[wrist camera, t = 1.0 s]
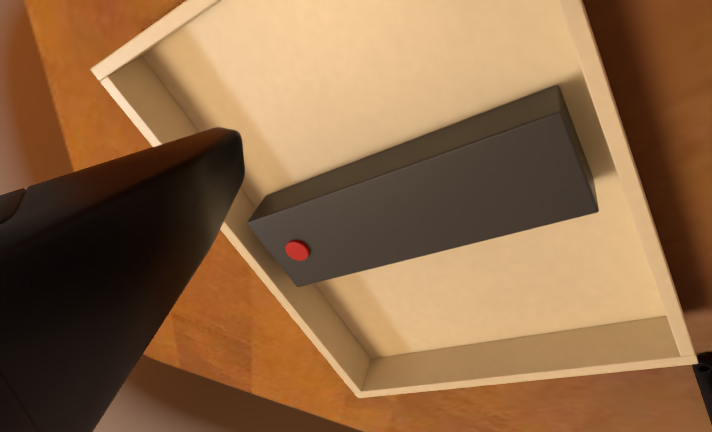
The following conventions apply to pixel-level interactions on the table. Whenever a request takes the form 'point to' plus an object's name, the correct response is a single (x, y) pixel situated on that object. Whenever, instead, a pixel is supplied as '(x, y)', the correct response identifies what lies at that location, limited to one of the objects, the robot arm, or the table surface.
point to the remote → (433, 193)
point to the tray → (394, 127)
